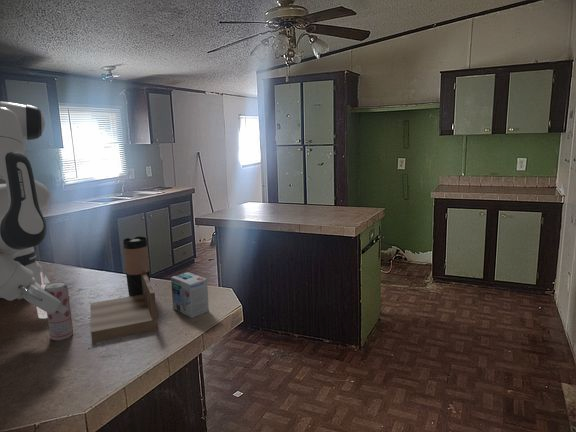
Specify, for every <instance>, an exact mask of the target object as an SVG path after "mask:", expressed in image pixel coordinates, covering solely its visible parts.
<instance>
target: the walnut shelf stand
mask: <svg viewBox="0 0 576 432" xmlns="http://www.w3.org/2000/svg"><path fill="white" fill-rule="evenodd" d="M141 277H142V289H143V294H142V295H136V296H130V297H129V296H125V297H120V298H119V297H118V298H112V299H108V300H107V299H106V300H102V301H96V302H90V303H89V305H90V306H89V308H90V334H91V342H92V343H96V342H101V341H107V340H112V339H117V338H121V337H125V336H131V335H135V334H140V333H146V332H149V331H157V330H158V329H159V328H158V317H157V306H156V305H157V302H156V294H155V290H154V287H153V286H152V283H151V280H150V281H149V279H148V277H147V274H146V272H145V271H141Z"/></svg>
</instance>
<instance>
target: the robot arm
mask: <svg viewBox="0 0 576 432" xmlns="http://www.w3.org/2000/svg"><path fill="white" fill-rule="evenodd" d="M45 122H46V120H45V118H44V116H43V113H42V111H41V110H40V109H39V108H38V107H37V106H34V105H31V104H22V103H21V104H20V103H16V102H9V101H0V179H1V180H4V181H5V183H0V299H5V300H6V301H9V302H12V301H14V300H16V299H17V300H22V299H24V300H25V301H27V302H28V303H29V304H31V305H33V306H35V307H38V308H40V309H42V310H44V311H46V312H48V313H50V314H53V313H55V311H59V312H61V313H63V314H64V313H65V312H66V311H67V309H68V308H67V307H66V306H64V305H62V304H61V301H59V300H58V299H57V298H56V297H54V296H53V295H52V294H50V293H49V292H47V291H46V290H44V288H43V287H42V286H41V285H42V282H41V275H40V272H42V276H43V283H44V285H47V284H49V283H51V282H50V280H49V278H48V277H47V275H46V274H45V273H43V266H41V264H40V263H39V262H38V261H37V260H38V258H37V252H36V250H35V249H34V247H36V246H38V245H39V244H41V243H42V242H43V241H44V239H45V238H46V235H47V230H48V229H47V222H46V220H45V218H44V216H43V213H42V210H45V209H47V207H48V206H49V204H50V201H51V193H50V191H49V188H48V187H47V186H46V185H45V184H44V183H42V182H40V181H38V180H36V179H35V178H34V177H35V176H34V173H33V168H32V164H31V162H30V160H29V158H28V157H27V156H26V151H25V140H27V141H31V140H37V139H38V140H39V138H40V137H42V136H43V135H42V134H43V133H44V130H45V126H46V125H45V124H46V123H45Z"/></svg>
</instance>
